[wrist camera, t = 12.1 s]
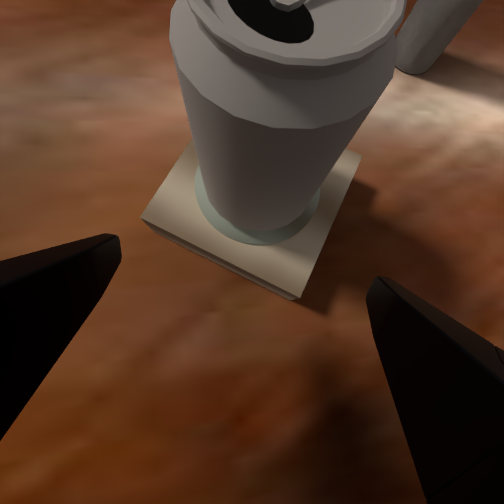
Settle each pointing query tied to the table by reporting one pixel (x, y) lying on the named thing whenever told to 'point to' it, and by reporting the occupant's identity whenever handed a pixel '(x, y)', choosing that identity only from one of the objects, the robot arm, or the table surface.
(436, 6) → the grey cylinder
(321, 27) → the can
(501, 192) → the table surface
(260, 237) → the pedestal
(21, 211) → the table surface
